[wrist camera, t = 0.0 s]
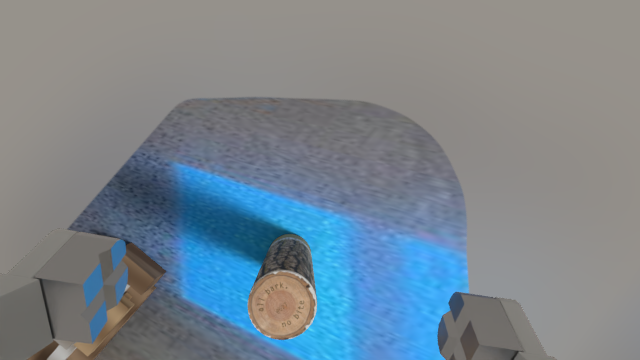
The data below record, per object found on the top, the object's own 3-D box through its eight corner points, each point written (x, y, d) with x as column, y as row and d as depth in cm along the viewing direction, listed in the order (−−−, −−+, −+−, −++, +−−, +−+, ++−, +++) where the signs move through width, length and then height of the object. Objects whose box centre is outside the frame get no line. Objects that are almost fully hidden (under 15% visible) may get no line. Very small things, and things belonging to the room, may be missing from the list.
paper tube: (259, 250, 64) (233, 300, 39) (293, 224, 64) (288, 256, 39) (286, 284, 64) (276, 354, 39) (319, 257, 65) (331, 310, 40)
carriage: (102, 271, 61) (66, 289, 52) (138, 301, 62) (109, 324, 52) (63, 317, 61) (20, 343, 52) (99, 346, 61) (63, 377, 52)
